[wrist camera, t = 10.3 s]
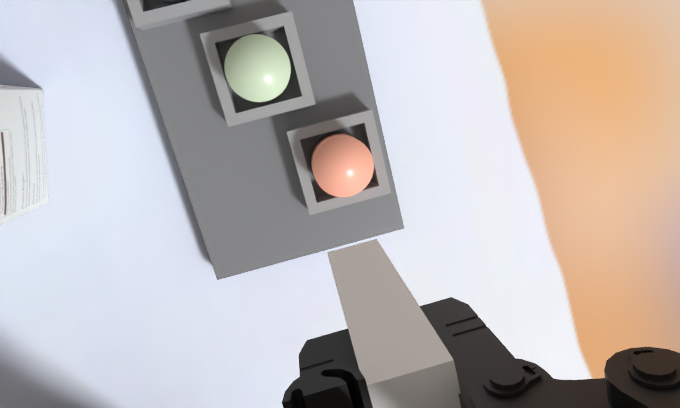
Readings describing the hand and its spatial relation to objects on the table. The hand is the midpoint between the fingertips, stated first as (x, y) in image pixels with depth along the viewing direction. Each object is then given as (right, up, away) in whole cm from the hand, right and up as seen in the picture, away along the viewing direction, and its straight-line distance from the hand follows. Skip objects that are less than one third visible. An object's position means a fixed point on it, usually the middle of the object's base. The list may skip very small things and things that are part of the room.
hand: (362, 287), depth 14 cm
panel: (-7, +13, +23) cm, 28 cm away
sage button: (-7, +12, +21) cm, 25 cm away
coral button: (-1, +6, +23) cm, 24 cm away
